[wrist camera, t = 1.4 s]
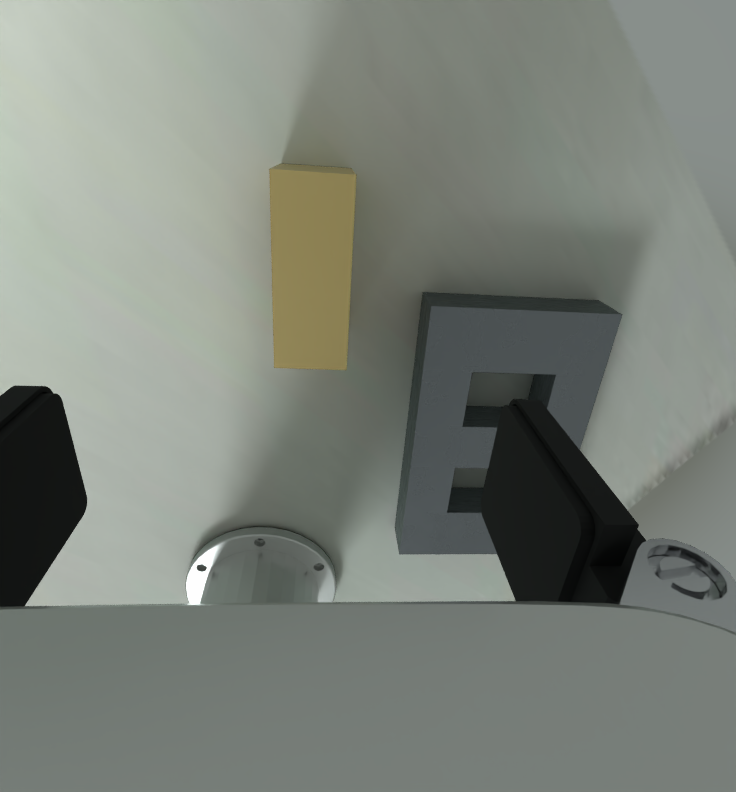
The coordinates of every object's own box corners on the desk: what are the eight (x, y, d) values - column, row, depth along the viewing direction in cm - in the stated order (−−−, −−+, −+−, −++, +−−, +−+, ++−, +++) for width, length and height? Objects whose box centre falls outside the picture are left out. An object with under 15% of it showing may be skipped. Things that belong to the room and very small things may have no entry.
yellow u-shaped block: (343, 332, 33) (346, 370, 27) (283, 330, 32) (274, 367, 27) (351, 168, 28) (356, 174, 23) (280, 163, 28) (269, 168, 22)
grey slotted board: (533, 527, 42) (546, 553, 39) (394, 527, 41) (399, 554, 38) (598, 300, 33) (622, 314, 30) (422, 292, 32) (431, 306, 29)
